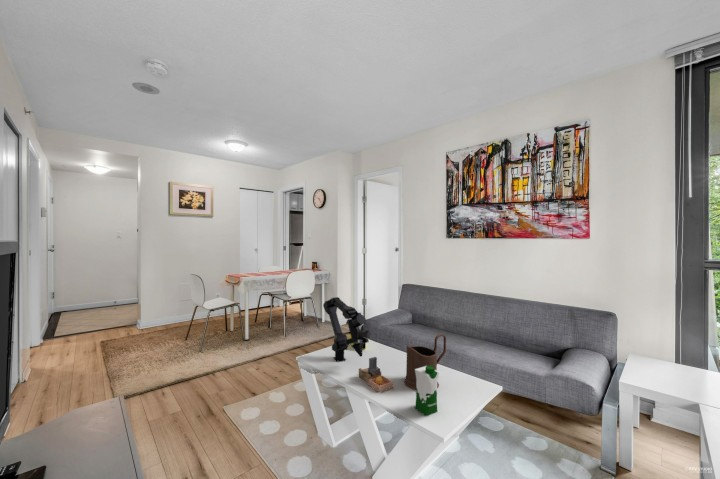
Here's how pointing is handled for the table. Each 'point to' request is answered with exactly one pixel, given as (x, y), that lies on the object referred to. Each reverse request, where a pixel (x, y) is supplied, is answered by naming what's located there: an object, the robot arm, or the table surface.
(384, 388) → the pink square tray
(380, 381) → the ball
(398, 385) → the table surface
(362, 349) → the yellow toy chassis
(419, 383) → the milk carton
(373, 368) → the plunger
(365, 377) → the track
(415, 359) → the brown pitcher
